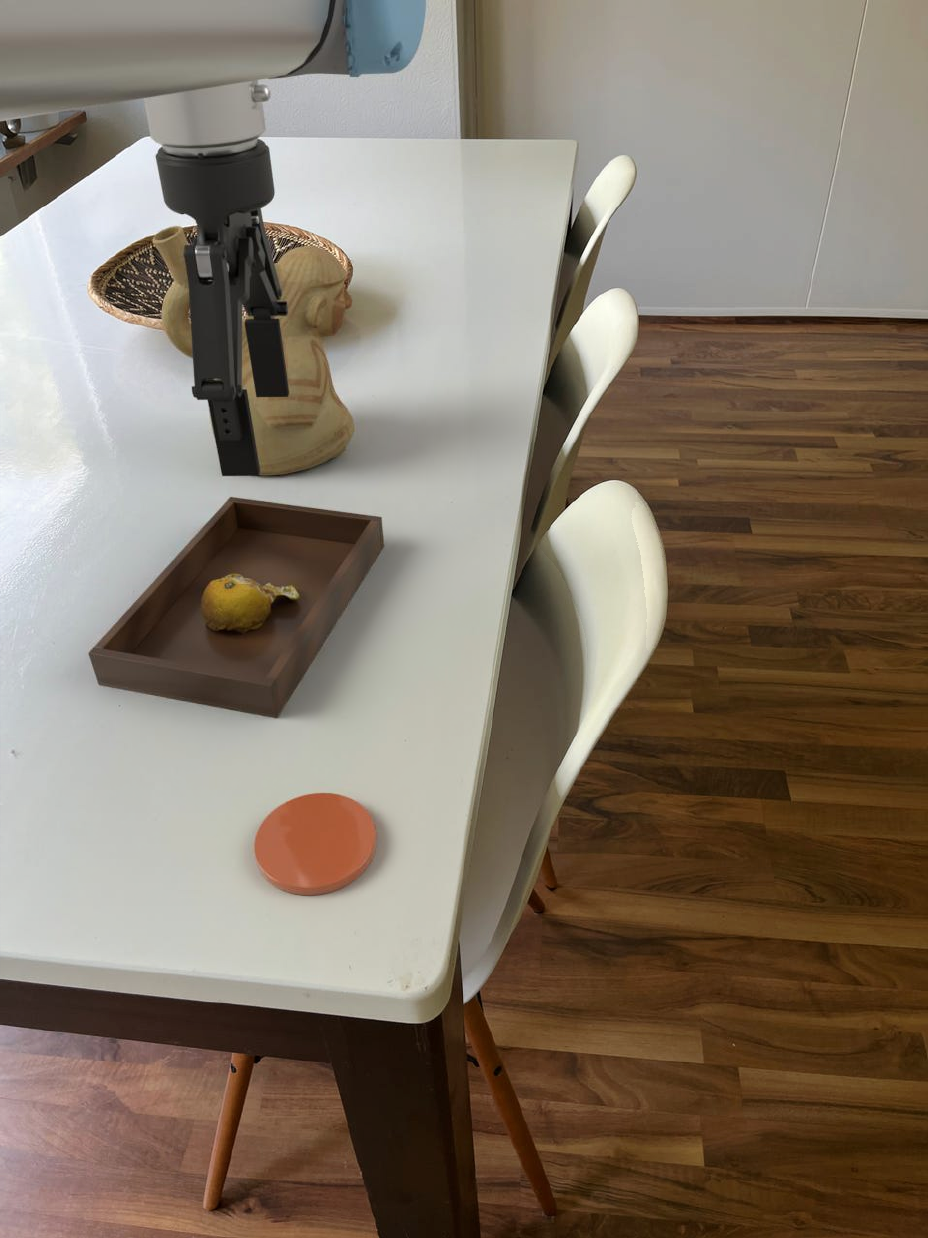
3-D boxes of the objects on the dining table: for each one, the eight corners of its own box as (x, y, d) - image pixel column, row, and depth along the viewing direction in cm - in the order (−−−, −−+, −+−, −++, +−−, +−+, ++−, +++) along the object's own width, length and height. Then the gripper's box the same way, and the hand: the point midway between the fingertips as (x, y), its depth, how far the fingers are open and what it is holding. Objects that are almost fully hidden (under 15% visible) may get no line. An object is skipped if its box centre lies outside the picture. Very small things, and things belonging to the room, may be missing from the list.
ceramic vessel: (389, 464, 107) (371, 225, 92) (210, 505, 101) (159, 256, 86) (340, 402, 119) (317, 183, 104) (177, 436, 113) (127, 208, 98)
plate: (351, 907, 62) (350, 899, 61) (234, 881, 63) (232, 872, 63) (393, 812, 68) (392, 805, 67) (285, 790, 70) (284, 783, 69)
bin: (277, 718, 75) (271, 685, 73) (98, 684, 79) (87, 652, 77) (384, 546, 94) (381, 516, 92) (235, 525, 98) (230, 496, 96)
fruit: (308, 591, 88) (303, 557, 86) (263, 648, 82) (257, 612, 79) (226, 576, 90) (219, 542, 88) (177, 629, 84) (168, 594, 82)
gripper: (227, 190, 56) (278, 512, 69) (295, 104, 76) (325, 367, 89) (96, 192, 56) (171, 513, 69) (198, 106, 76) (242, 368, 89)
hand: (258, 432), depth 79 cm, fingers open, 13 cm apart
